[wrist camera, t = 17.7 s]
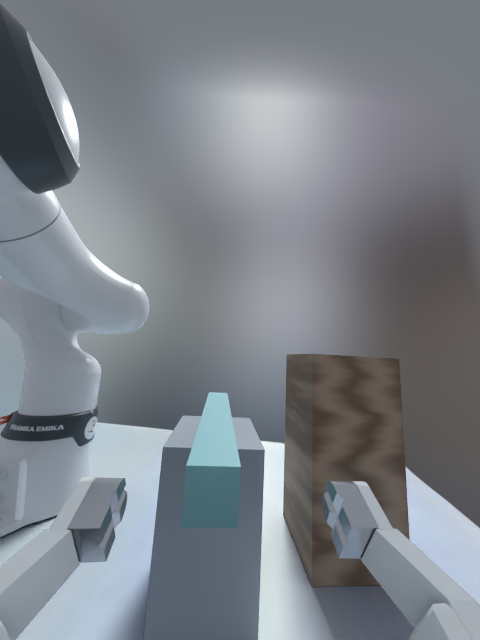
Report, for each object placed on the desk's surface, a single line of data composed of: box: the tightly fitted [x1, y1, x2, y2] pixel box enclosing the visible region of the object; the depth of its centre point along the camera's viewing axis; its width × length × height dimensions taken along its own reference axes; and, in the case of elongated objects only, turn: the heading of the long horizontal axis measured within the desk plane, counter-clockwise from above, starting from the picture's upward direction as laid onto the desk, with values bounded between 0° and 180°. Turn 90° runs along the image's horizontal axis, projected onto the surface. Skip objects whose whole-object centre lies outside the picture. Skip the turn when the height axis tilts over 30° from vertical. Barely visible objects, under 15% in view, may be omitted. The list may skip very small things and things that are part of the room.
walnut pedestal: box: [283, 354, 409, 587], centre depth 34 cm, size 12×12×26 cm
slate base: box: [143, 416, 265, 640], centre depth 27 cm, size 10×12×16 cm
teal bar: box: [181, 392, 241, 528], centre depth 25 cm, size 3×26×3 cm, turn 5°
